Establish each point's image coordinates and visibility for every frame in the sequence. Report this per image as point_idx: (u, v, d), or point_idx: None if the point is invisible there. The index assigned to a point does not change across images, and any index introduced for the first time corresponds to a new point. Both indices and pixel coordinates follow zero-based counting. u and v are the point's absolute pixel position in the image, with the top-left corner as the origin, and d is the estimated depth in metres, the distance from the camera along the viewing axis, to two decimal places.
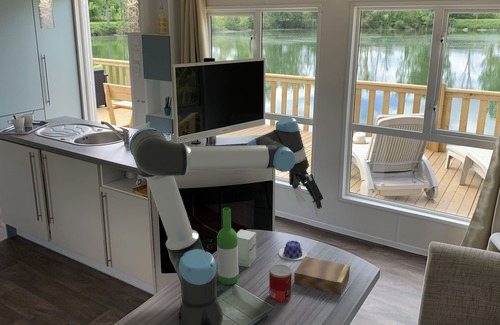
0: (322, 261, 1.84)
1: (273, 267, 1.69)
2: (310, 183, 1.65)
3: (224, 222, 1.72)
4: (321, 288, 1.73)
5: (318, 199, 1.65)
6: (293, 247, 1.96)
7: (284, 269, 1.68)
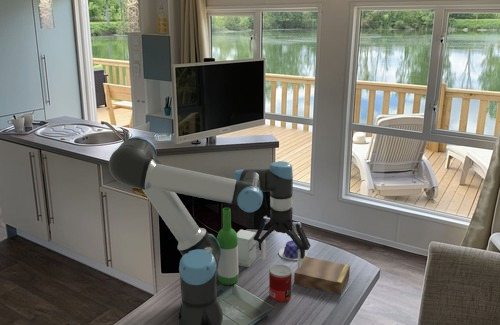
0: (322, 261, 1.84)
1: (273, 267, 1.69)
2: (300, 230, 1.58)
3: (224, 222, 1.72)
4: (321, 288, 1.73)
5: (308, 247, 1.59)
6: (293, 247, 1.96)
7: (284, 269, 1.68)
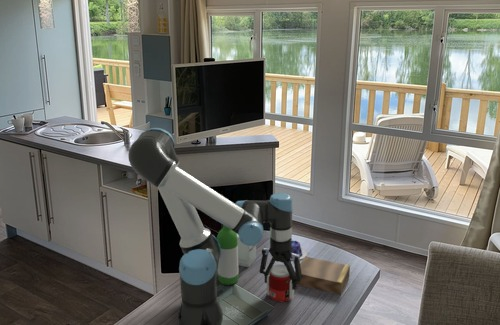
0: (322, 261, 1.84)
1: (273, 267, 1.69)
2: (297, 263, 1.62)
3: None
4: (321, 288, 1.73)
5: (300, 279, 1.64)
6: (294, 247, 1.96)
7: (284, 269, 1.68)
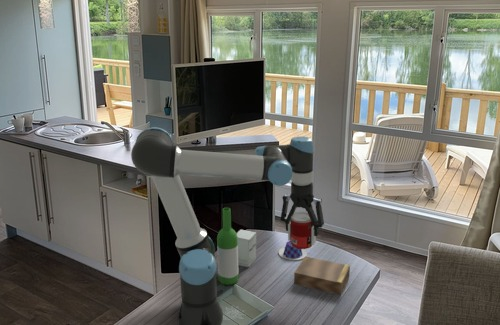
0: (322, 261, 1.84)
1: (294, 214, 1.67)
2: (319, 208, 1.60)
3: (224, 222, 1.72)
4: (321, 288, 1.73)
5: (322, 224, 1.62)
6: (294, 247, 1.96)
7: (305, 216, 1.66)
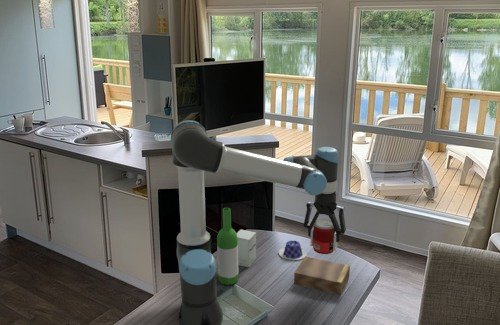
0: (322, 261, 1.84)
1: (317, 221, 1.74)
2: (342, 215, 1.68)
3: (224, 222, 1.72)
4: (321, 288, 1.73)
5: (344, 231, 1.69)
6: (294, 247, 1.96)
7: (328, 222, 1.73)
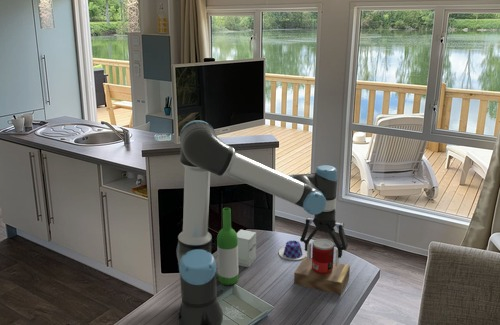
0: None
1: (316, 241, 1.77)
2: (342, 231, 1.70)
3: (224, 222, 1.72)
4: (321, 288, 1.73)
5: (346, 247, 1.71)
6: (295, 247, 1.96)
7: (326, 242, 1.76)
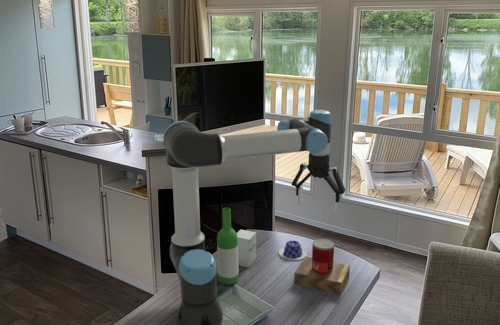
0: None
1: (316, 241, 1.77)
2: (337, 175, 1.69)
3: (224, 222, 1.72)
4: (321, 288, 1.73)
5: (343, 191, 1.70)
6: (295, 247, 1.96)
7: (326, 242, 1.76)
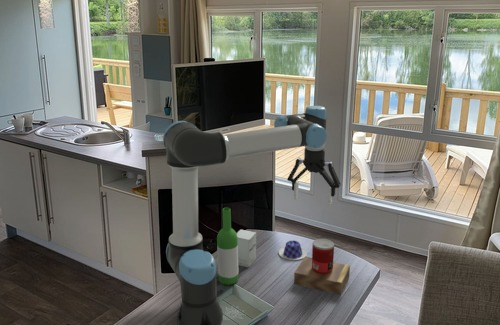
0: None
1: (316, 241, 1.77)
2: (332, 169, 1.73)
3: (224, 222, 1.72)
4: (321, 288, 1.73)
5: (339, 185, 1.73)
6: (295, 247, 1.96)
7: (326, 242, 1.76)
